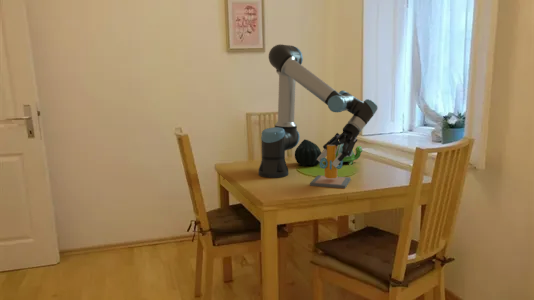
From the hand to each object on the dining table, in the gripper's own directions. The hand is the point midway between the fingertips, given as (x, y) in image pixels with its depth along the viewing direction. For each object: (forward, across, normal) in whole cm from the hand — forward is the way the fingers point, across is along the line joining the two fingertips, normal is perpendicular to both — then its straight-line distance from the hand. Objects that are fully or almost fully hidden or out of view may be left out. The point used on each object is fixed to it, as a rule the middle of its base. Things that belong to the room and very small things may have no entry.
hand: (326, 163), depth 195 cm
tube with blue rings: (+3, 0, -7) cm, 7 cm away
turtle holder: (-19, +33, -33) cm, 51 cm away
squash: (-4, +39, -18) cm, 43 cm away
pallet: (+5, 0, -9) cm, 10 cm away
